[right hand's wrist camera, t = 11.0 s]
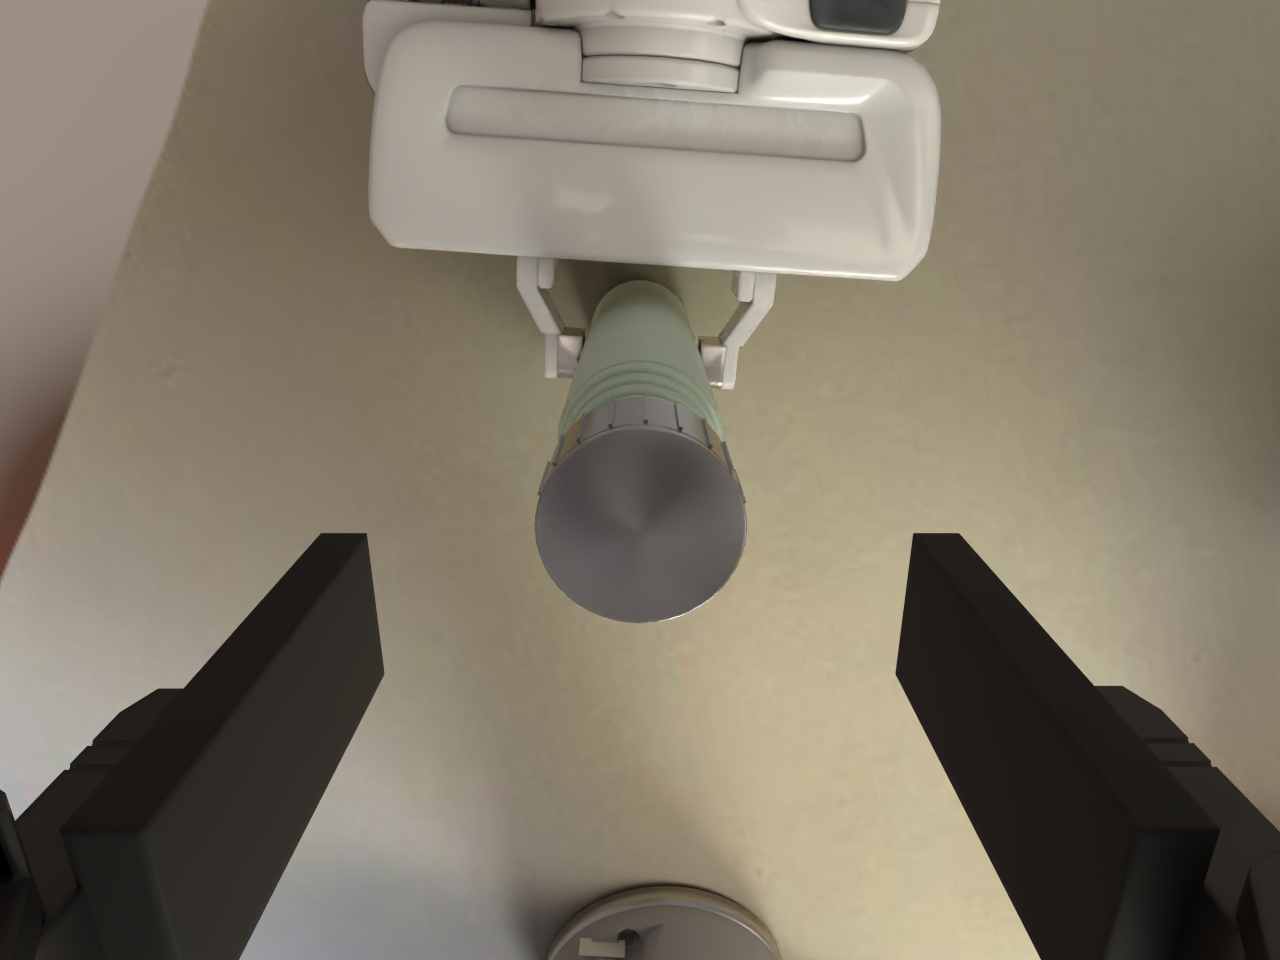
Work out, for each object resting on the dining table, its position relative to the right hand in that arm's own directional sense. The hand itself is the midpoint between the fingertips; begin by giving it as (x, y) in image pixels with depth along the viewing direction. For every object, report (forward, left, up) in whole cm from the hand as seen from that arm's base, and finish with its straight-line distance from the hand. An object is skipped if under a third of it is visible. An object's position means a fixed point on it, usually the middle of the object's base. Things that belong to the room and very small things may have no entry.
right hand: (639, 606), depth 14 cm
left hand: (0, +1, -20) cm, 20 cm away
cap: (0, 0, -3) cm, 3 cm away
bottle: (0, 0, -26) cm, 26 cm away
